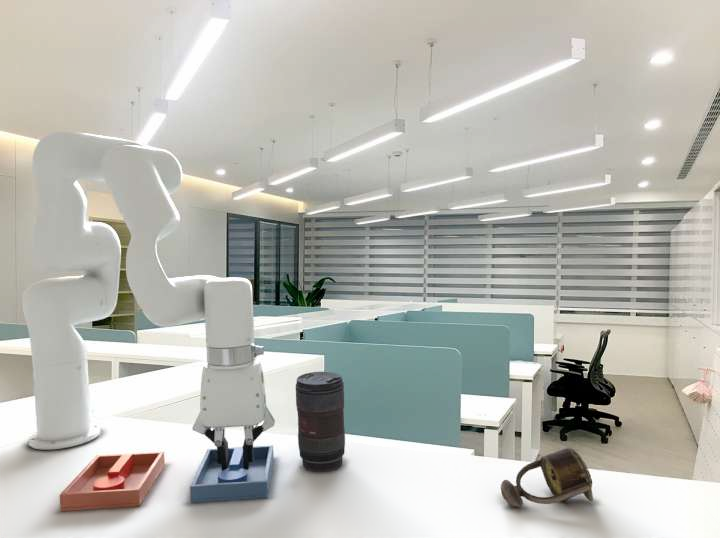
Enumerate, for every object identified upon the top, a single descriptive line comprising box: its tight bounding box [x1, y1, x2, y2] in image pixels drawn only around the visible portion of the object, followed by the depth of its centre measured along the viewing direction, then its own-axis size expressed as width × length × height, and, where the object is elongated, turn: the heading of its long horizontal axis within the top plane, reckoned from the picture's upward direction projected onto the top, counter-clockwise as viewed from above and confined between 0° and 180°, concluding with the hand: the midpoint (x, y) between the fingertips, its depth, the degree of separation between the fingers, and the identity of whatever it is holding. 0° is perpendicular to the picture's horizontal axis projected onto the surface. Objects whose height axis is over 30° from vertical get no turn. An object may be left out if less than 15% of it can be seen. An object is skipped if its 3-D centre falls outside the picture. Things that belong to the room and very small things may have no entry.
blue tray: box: [189, 444, 275, 504], centre depth 94 cm, size 15×11×2 cm
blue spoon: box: [218, 447, 247, 483], centre depth 93 cm, size 11×4×3 cm, turn 5°
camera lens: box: [295, 371, 346, 472], centre depth 98 cm, size 8×8×15 cm
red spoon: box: [93, 455, 133, 491], centre depth 92 cm, size 11×4×3 cm, turn 5°
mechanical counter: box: [500, 446, 594, 508], centre depth 84 cm, size 7×13×10 cm
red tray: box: [59, 451, 166, 512], centre depth 92 cm, size 15×11×2 cm
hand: (236, 465), depth 95 cm, fingers closed
